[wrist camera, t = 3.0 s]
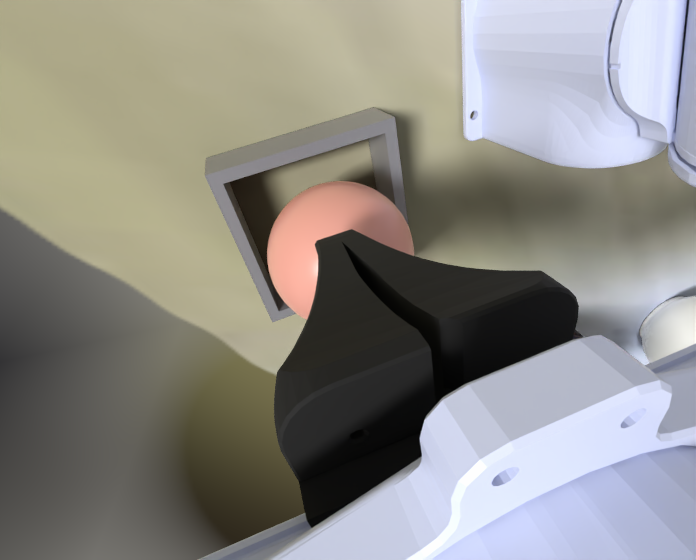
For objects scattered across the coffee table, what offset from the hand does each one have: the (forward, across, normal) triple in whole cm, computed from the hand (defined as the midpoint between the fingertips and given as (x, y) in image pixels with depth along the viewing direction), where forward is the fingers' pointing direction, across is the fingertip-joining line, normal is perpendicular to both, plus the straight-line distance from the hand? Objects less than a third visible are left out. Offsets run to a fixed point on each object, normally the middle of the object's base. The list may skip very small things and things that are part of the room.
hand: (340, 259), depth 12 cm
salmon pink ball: (+8, -1, +3) cm, 9 cm away
